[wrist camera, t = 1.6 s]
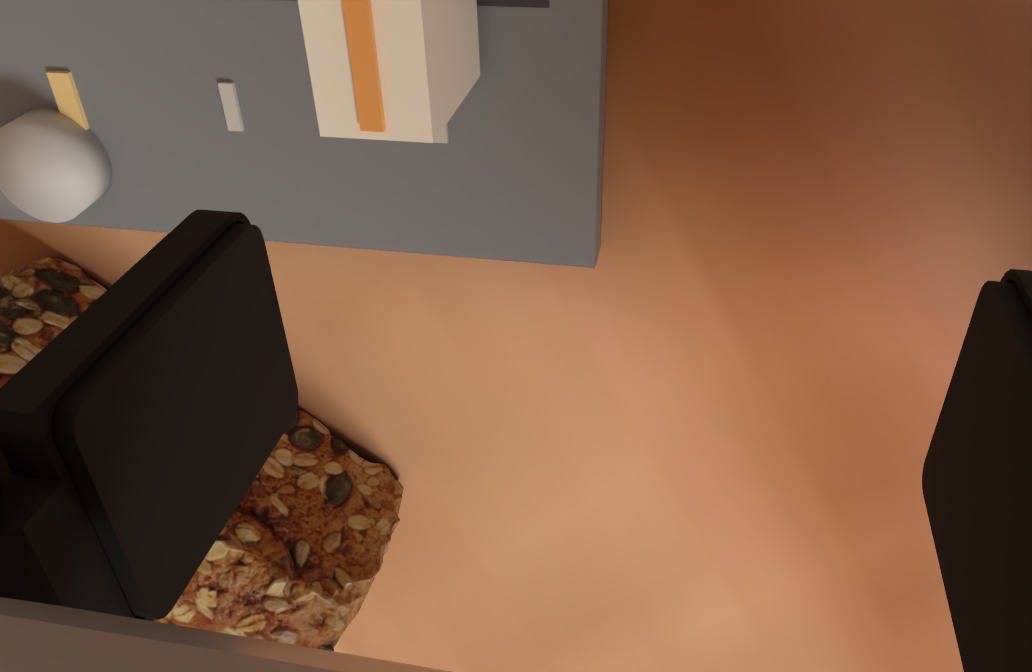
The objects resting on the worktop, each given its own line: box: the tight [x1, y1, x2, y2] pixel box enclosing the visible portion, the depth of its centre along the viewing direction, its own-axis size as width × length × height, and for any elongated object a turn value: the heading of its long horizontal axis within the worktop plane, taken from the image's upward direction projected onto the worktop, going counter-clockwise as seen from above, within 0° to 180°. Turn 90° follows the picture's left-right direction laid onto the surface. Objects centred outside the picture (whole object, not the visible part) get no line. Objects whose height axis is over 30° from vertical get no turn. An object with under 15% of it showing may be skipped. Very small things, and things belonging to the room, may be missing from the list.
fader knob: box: [298, 0, 480, 143], centre depth 23 cm, size 3×5×5 cm, turn 2°
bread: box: [0, 257, 403, 652], centre depth 36 cm, size 19×11×10 cm, turn 54°
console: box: [0, 0, 609, 268], centre depth 27 cm, size 24×16×3 cm, turn 92°
